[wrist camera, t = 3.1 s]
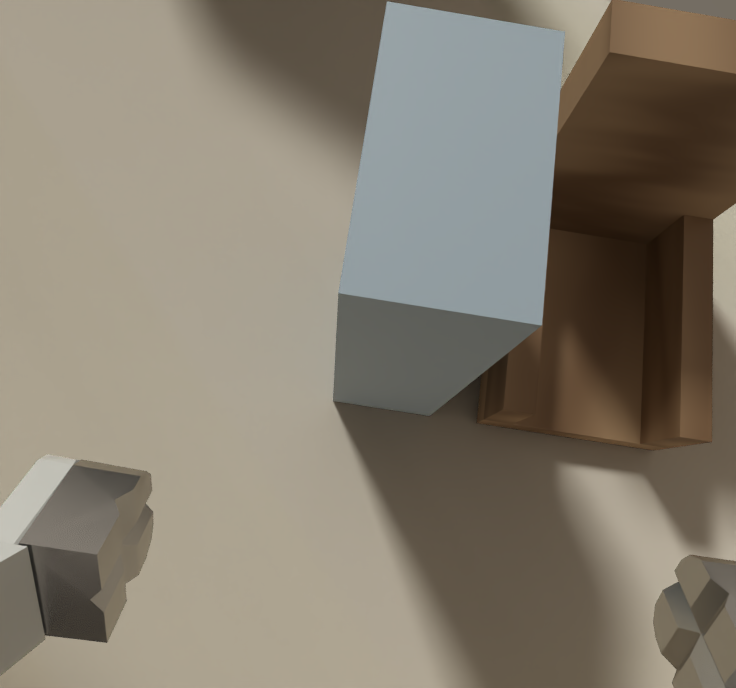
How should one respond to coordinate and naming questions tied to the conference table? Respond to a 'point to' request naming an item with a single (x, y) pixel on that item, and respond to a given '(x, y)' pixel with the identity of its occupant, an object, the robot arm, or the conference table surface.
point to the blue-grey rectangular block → (447, 207)
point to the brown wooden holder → (630, 238)
